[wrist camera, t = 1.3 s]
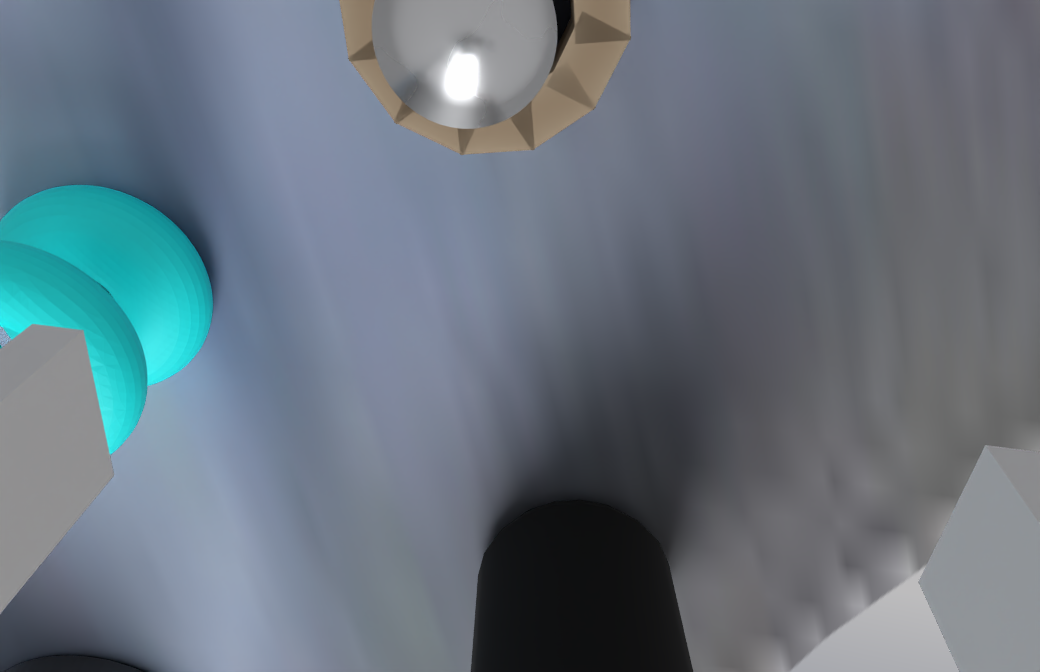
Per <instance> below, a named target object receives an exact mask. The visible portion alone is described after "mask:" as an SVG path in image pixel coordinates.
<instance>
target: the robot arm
mask: <svg viewBox="0 0 1040 672" xmlns="http://www.w3.org/2000/svg"><path fill="white" fill-rule="evenodd" d="M113 476H114V472H113V467H112V463H111V458H110V453H109V449H108V444H107V439H106V434H105V430H104V425H103V420H102V416H101V411H100V406H99V402H98V397H97V392H96V388H95V383H94V378H93V373H92V369H91V364H90V359H89V355H88V350H87V345H86V341H85V336H84V331H83V330H77V329H69V328H61V327H53V326H46V325H38V324H32V325H30V326H29V327H28V328H26V329H25V330H24V331H23V332H21V333H20V334H19V335H17V336H16V337H15V338H14V339H12V340H11V341H10V342H8V343H7V344H6V345H5V346H3V347H2V348H1V349H0V614H1V612H2V611H3V610H4V609H5V608H6V606H7V605H8V604H9V603H10V601H11V600H12V599H13V598H14V597H15V595H16V594H17V593H18V592H19V591H20V589H21V588H22V587H23V586H24V584H25V583H26V582H27V581H28V580H29V578H30V577H31V576H32V575H33V573H34V572H35V571H36V570H37V569H38V567H39V566H40V565H41V564H42V563H43V561H44V560H45V559H46V558H47V556H48V555H49V554H50V553H51V552H52V550H53V549H54V548H55V547H56V545H57V544H58V543H59V542H60V541H61V539H62V538H63V537H64V536H65V535H66V533H67V532H68V531H69V530H70V528H71V527H72V526H73V525H74V524H75V522H76V521H77V520H78V519H79V518H80V516H81V515H82V514H83V513H84V511H85V510H86V509H87V508H88V507H89V505H90V504H91V503H92V502H93V500H94V499H95V498H96V497H97V496H98V494H99V493H100V492H101V491H102V490H103V488H104V487H105V486H106V485H107V483H108V482H109V481H110V480H111V479H112V477H113ZM919 584H920V586H921V589H922V591H923V593H924V595H925V597H926V600H927V602H928V604H929V606H930V608H931V611H932V613H933V615H934V617H935V619H936V622H937V624H938V626H939V628H940V630H941V632H942V635H943V637H944V639H945V641H946V643H947V646H948V648H949V650H950V652H951V654H952V657H953V659H954V661H955V663H956V665H957V668H958V670H959V672H1040V452H1036V451H1028V450H1020V449H1012V448H1004V447H996V446H988V445H985V447H984V449H983V451H982V454H981V456H980V458H979V460H978V462H977V464H976V466H975V468H974V470H973V472H972V474H971V476H970V478H969V480H968V482H967V484H966V486H965V488H964V490H963V492H962V494H961V496H960V498H959V500H958V502H957V504H956V506H955V509H954V511H953V513H952V515H951V517H950V519H949V521H948V523H947V525H946V527H945V529H944V531H943V533H942V535H941V537H940V539H939V541H938V543H937V545H936V547H935V549H934V551H933V553H932V555H931V557H930V559H929V561H928V563H927V566H926V568H925V570H924V572H923V574H922V576H921V578H920V580H919ZM5 672H143V671H140V670H138V669H135V668H133V667H130V666H127V665H124V664H120V663H117V662H113V661H109V660H105V659H100V658H94V657H86V656H71V655H66V656H50V657H42V658H37V659H33V660H29V661H26V662H23V663H20V664H18V665H16V666H14V667H12V668H10V669H8V670H7V671H5Z"/></svg>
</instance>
